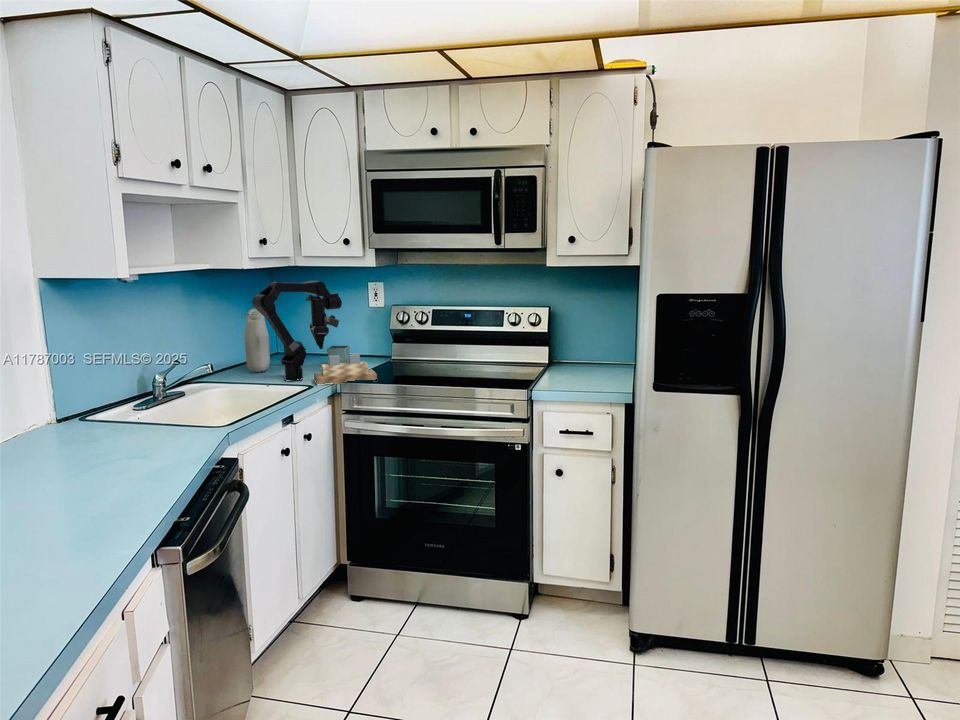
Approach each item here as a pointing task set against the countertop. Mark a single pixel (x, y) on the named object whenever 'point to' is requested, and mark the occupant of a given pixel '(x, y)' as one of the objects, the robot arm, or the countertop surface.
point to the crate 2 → (354, 359)
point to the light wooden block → (344, 369)
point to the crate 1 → (334, 360)
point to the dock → (344, 377)
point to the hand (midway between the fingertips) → (319, 347)
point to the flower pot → (339, 352)
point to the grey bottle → (256, 342)
